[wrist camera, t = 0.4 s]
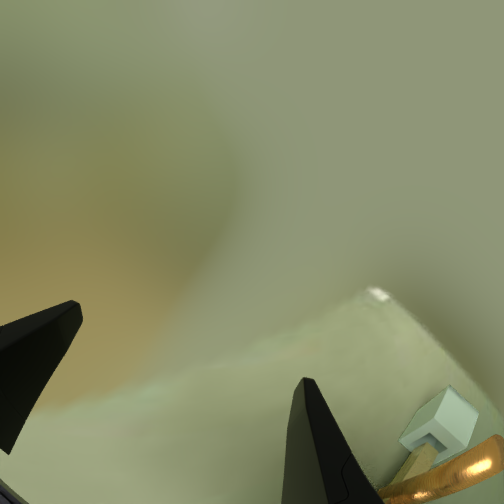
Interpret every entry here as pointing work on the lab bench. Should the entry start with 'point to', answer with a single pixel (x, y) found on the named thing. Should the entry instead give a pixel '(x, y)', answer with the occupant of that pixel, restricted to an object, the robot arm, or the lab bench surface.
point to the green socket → (442, 424)
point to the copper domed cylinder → (443, 473)
